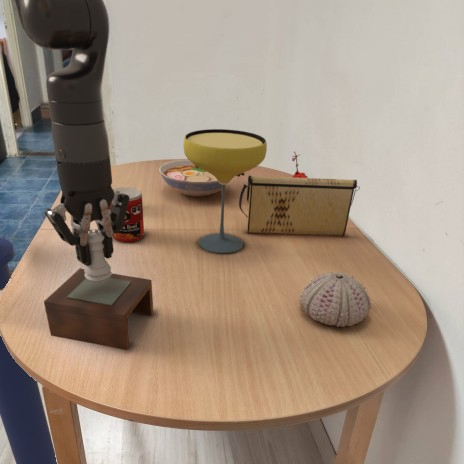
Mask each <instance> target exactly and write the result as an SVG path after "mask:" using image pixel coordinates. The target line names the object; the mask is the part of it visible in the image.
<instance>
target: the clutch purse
mask: <svg viewBox="0 0 464 464" xmlns="http://www.w3.org/2000/svg"><path fill="white" fill-rule="evenodd" d="M292 177H293V176H291V177H288V176H265V175H264V176H263V175H248V176H247V181H246V180H244V181H243V187H242V189H241V191H240V194H239V200H238V207H239V210H240V211H241V212H242V214H243V215H244V216H246V218H247V220H246V233H247V234H249V233H259V234H290V235H291V234H293V235H321V236H322V235H323V236H325V235H326V236H342V237H344V235H345V234H346V231H347V227H348V221H349V217H350V212H351V207H352V206H353V203H354V200H355V199H354V198H355V196H356V192H358V191H359V190H360V189H361V187H360V186H359V185H358V180H357V179H341V178H339V179H338V178H319V177H318V178H314V177H313V178H312V177H308V178H292ZM245 191H246V202H247V204H248V205H247V214H246V213H245V212H244V210H243V209H242V202H243V196H244V193H245Z"/></svg>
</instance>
